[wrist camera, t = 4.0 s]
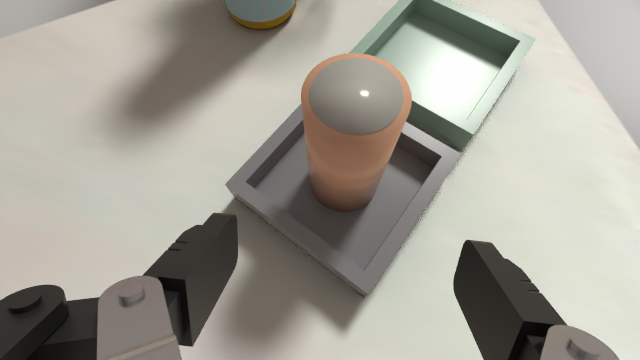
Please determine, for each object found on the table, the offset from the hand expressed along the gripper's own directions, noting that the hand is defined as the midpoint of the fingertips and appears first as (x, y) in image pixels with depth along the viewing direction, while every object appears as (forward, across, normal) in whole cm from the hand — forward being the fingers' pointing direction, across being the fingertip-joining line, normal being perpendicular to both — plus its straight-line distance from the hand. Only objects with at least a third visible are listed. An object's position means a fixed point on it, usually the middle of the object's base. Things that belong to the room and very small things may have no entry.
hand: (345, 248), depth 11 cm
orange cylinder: (+13, 0, +2) cm, 13 cm away
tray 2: (+22, -7, -6) cm, 24 cm away
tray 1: (+13, 0, +3) cm, 14 cm away
